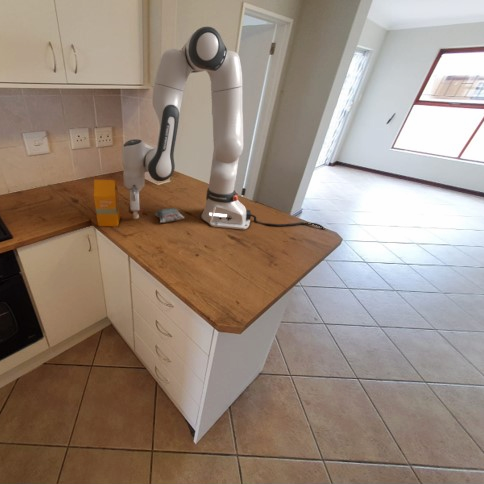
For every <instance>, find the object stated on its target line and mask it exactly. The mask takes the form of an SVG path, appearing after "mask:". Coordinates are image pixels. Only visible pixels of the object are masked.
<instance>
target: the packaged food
mask: <svg viewBox="0 0 484 484" xmlns="http://www.w3.org/2000/svg"><path fill="white" fill-rule="evenodd" d="M154 216H155V217H158V218H159V223H164V224H165V223H170V222H176V221H177V222H178V221H181V220H185V219H186V216H184V215H183V214H181V212H180V211H179V210H178V209H177V208H175V207H170V208H162V209H158V210H156V212H155V214H154Z"/></svg>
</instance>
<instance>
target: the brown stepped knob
mask: <svg viewBox="0 0 484 484" xmlns="http://www.w3.org/2000/svg"><path fill="white" fill-rule="evenodd" d="M142 212H143V206H142V205H141V204H140V203H139V211H137V216H134V215H133V211H131V209H130V205H129V206H128V213H129V214H131V217H132V219H135V220H137V219H139V218H140V214H142Z"/></svg>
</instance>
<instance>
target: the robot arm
mask: <svg viewBox="0 0 484 484" xmlns="http://www.w3.org/2000/svg"><path fill="white" fill-rule="evenodd" d="M201 72H206V73H207V74H208V76H209V79H210V94H211V110H212V111H211V112H212V136H213V141H212V142H213V152H212V160H211V167H210V168H211V169H210V175H209V183H208V187H207V189H206V194H205V195H206V196H205V198H206V199H205V200H206V201H205V205H204V209H203V211H202V213H201V219H202V220H203V221H205V223H208V224H209V226H210V227H212V228H224V229H233V230H247V229H248V228H249V227H250V224H251V217H252V218H253V222H255V223H257V224H260V225H264V226H270V227H288V226H289V227H291V226H296V225H307V226H316V225H317V226H316V227H319V226H320V227H319V228H321V227H322V228H321V230H322V231H326V229H325V227H324V226H323V225H322V224H319V223H316V222H310V223H311V224H308V223H309V222H305V221H301V222H300V221H299V222H292V223H271V222H269V223H268V222H260V221H258V220H257V216H256V215H255V214H252V212H251V209H247V208H246V206H245V205H244V204H243V203H242V202H241V201H239V197H238V195H239V193H238V191H236V190H235V186H236V180H237V175H238V167H239V160H240V157H241V155H242V154H243V151H244V115H243V111H244V110H243V107H244V106H243V71H242V64H241V58H240V55H239V54H238V53H237V52H236V51H234V50H228V49H227V47H226V45H225V43H224V41H223V39H222V36H221V34H220V32H218V30H216V28H214V27H212V26H201V27H200V28H198V29H197V30H196V31H194V32H193V33H192V34H191V35H190V36H189V37H188V39H187V41H186V42H185V44H184V45H183V47H182V48H181V49H176V48H169V49H167V50H165V51H163V53H162V54H161V57H160V60H159V63H158V66H157V69H156V72H155V78H154V83H153V88H152V108H153V109H154V112H155V113H156V116H157V119H158V124H159V129H158V138H157V145H156V146H153V145H149V144H148V143H145V142H144V141H143V140H141V139H139V138H135V139H129V140H127V141H126V142H124V144H123V146H122V151H121V160H122V161H121V162H122V163H121V164H122V167H123V174H122V178H123V187H125V188H126V190H127V191H128V192H129V206H130V209H131V211H133V215H134V216H137V211H139V204H140V191H142V190H143V188H144V187H145V186H146V173H148V174H149V176H150V177H151V178H152V180H154V181H156V182H164V181H167V180H169V179H170V178H171V177H172V176H173V174H174V172H175V167H176V165H175V160H174V159H175V158H174V157H175V155H174V153H175V146H176V141H177V135H178V129H179V128H178V127H179V123H180V122H179V119H180V113H181V107H182V104H183V99H184V94H185V89H186V83H187V81H188V78H189V76H190V74H193V73H195V74H196V73H201ZM304 222H305V223H304ZM312 224H314V225H312ZM323 228H324V229H323Z"/></svg>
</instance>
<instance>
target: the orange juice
mask: <svg viewBox="0 0 484 484" xmlns="http://www.w3.org/2000/svg"><path fill="white" fill-rule="evenodd" d="M118 190H119V189H118V185H117V182H116V179H102V178H101V179H100V178H99V179H97V178H95V179H93V200H94V206H95V207H94V208H95V214H96V221H97V226H98V227H118V226H119V223H120V221H121V213H120V201H119V191H118Z"/></svg>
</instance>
